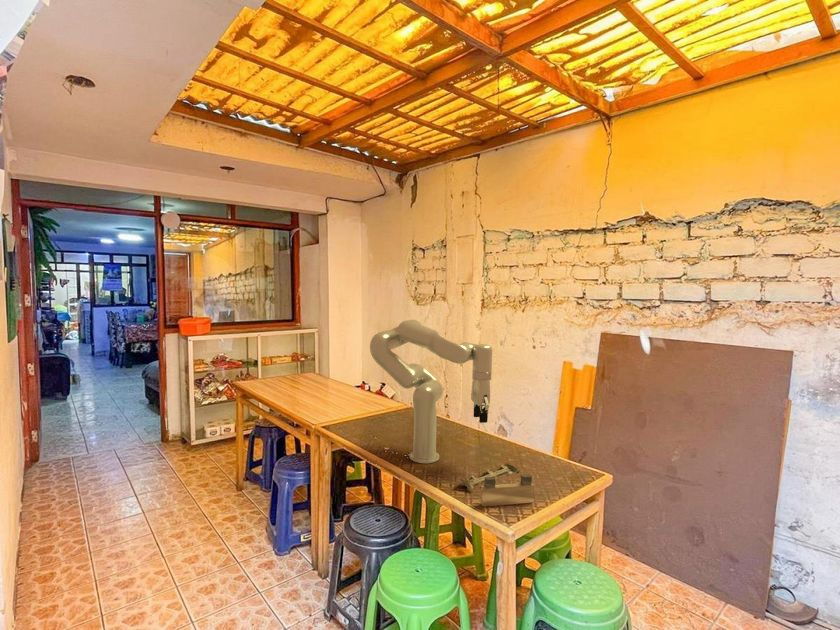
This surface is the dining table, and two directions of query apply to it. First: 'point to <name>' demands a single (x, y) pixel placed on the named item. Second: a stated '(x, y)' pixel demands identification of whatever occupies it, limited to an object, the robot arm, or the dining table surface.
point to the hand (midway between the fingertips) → (480, 419)
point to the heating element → (478, 481)
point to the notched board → (507, 492)
